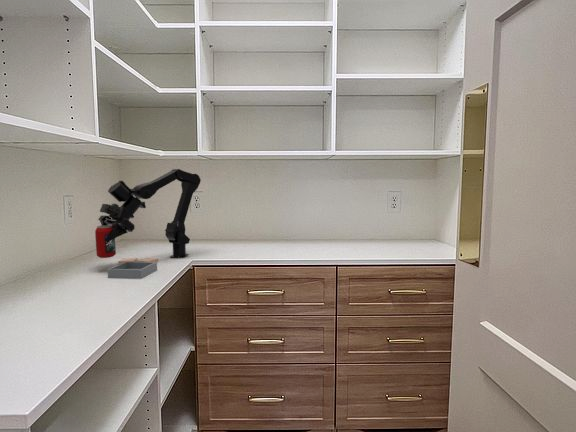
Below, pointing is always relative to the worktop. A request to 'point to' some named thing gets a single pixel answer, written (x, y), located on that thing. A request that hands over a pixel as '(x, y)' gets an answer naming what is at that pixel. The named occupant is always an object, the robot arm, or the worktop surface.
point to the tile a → (127, 260)
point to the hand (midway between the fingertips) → (101, 240)
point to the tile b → (148, 260)
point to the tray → (132, 270)
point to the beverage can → (104, 242)
